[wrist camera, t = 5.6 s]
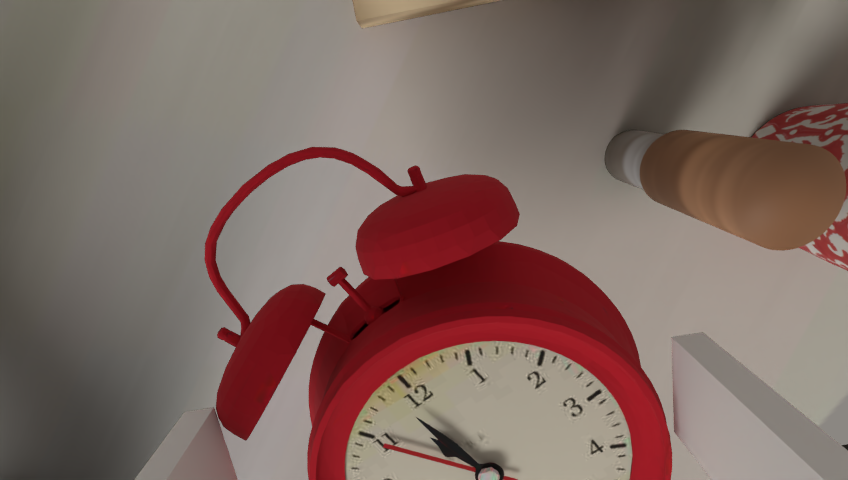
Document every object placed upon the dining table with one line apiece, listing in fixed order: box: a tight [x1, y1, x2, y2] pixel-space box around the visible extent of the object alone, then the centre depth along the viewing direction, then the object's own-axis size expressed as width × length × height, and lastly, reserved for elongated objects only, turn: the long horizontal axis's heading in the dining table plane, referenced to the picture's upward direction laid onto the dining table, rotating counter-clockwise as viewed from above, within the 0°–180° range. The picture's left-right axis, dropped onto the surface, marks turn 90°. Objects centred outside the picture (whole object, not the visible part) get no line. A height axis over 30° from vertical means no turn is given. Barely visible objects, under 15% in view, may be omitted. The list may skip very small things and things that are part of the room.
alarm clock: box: [205, 147, 672, 480], centre depth 14 cm, size 10×6×15 cm
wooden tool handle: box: [605, 130, 846, 250], centre depth 21 cm, size 3×3×12 cm
